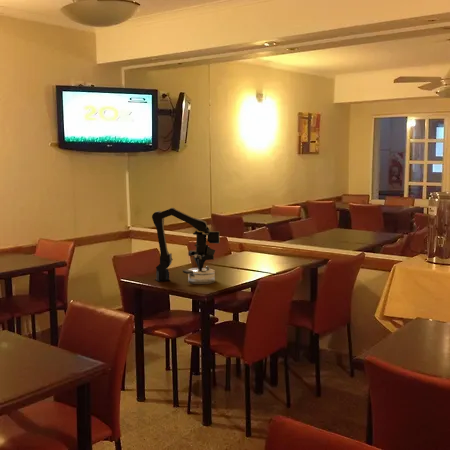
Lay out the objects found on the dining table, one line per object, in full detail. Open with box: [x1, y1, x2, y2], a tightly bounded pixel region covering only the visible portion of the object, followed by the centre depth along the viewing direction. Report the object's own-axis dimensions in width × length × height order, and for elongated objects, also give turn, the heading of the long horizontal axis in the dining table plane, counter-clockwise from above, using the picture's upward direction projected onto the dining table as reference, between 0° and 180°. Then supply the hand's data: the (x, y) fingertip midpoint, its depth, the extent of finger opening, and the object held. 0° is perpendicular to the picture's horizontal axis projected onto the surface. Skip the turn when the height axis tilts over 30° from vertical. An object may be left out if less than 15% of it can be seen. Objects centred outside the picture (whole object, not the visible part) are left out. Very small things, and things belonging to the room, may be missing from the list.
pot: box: [187, 272, 216, 285], centre depth 329 cm, size 15×15×5 cm
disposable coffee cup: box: [190, 255, 205, 268], centre depth 359 cm, size 10×10×12 cm
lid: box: [182, 265, 216, 275], centre depth 327 cm, size 18×15×3 cm
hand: (200, 270), depth 328 cm, fingers closed, pressing on lid
